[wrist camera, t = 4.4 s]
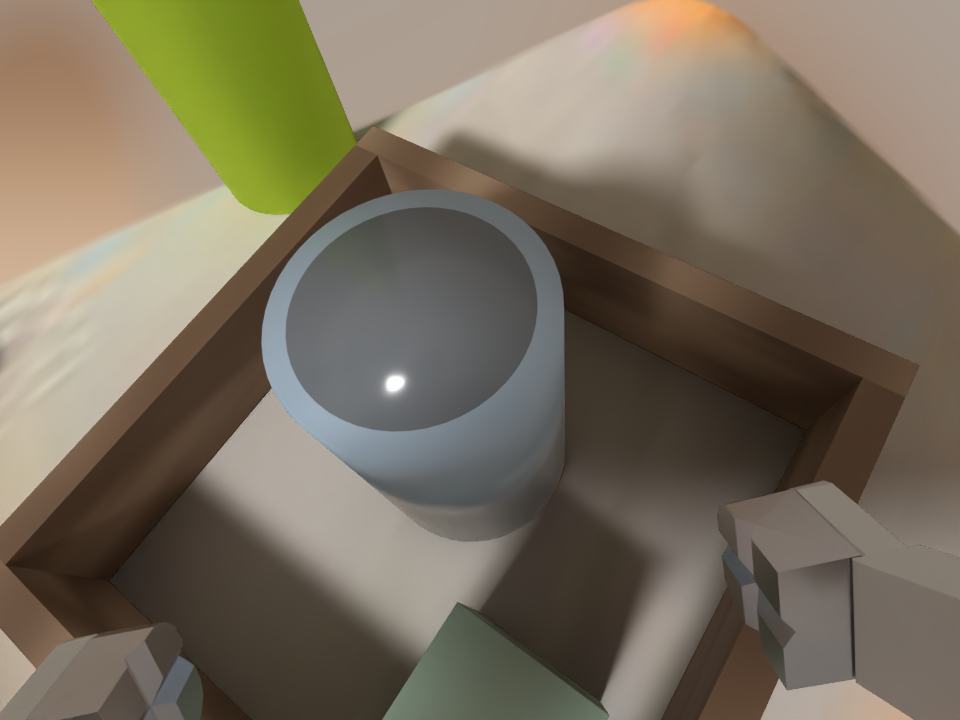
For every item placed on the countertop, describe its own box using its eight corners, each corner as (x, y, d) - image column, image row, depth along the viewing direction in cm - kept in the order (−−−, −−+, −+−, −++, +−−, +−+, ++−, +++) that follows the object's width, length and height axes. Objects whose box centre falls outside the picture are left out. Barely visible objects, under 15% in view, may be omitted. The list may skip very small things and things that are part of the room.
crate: (66, 589, 20) (-46, 575, 16) (401, 201, 25) (373, 125, 21) (541, 1073, 13) (531, 1228, 10) (851, 420, 19) (919, 365, 15)
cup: (348, 475, 20) (200, 356, 12) (452, 336, 22) (385, 152, 14) (498, 581, 18) (442, 526, 10) (600, 419, 20) (622, 260, 12)
